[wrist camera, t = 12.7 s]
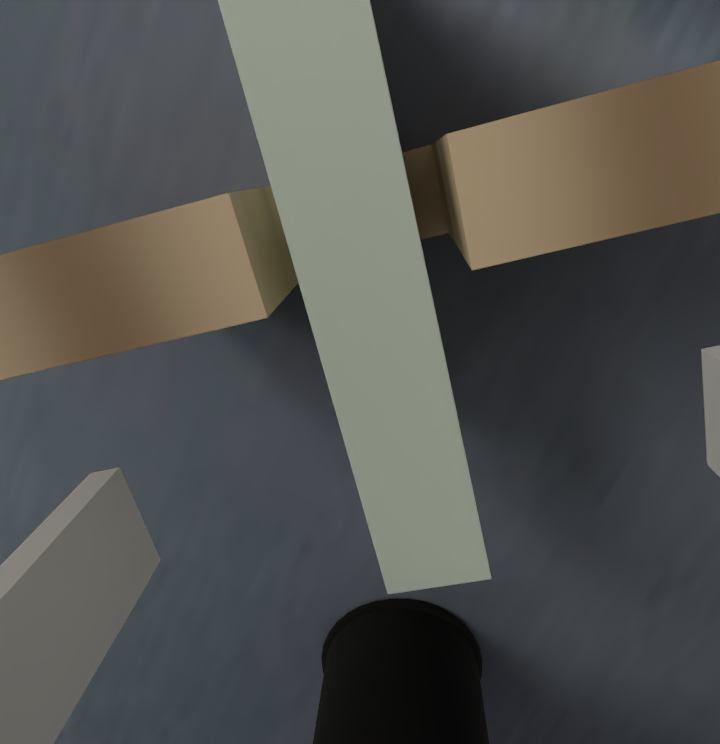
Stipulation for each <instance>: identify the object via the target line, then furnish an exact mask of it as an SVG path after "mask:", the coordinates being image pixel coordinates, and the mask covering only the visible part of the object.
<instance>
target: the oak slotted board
mask: <svg viewBox="0 0 720 744" xmlns="http://www.w3.org/2000/svg"><path fill="white" fill-rule="evenodd" d="M402 155H403V159H404V164H405V169H406V174H407V178H408V183H409V188H410V192H411V197H412V202H413V207H414V211H415V216H416V221H417V226H418V230H419V235H420V240H422V239H426V238H430V237H434V236H438V235H442V234H447V233H449V234H450V236H451V237H452V239H453V241H454V242H455V244H456V246H457V247H458V249H459V250H460V252H461V254H462V255H463V257H464V258H465V260H466V262H467V263H468V265H469V267H470V268H471V270H476V269H481V268H485V267H489V266H494V265H498V264H502V263H507V262H511V261H515V260H520V259H524V258H528V257H532V256H537V255H541V254H545V253H550V252H554V251H558V250H563V249H567V248H571V247H576V246H580V245H584V244H589V243H593V242H597V241H601V240H606V239H610V238H614V237H619V236H623V235H627V234H632V233H636V232H640V231H645V230H649V229H653V228H657V227H662V226H666V225H670V224H675V223H679V222H683V221H688V220H692V219H696V218H701V217H705V216H709V215H714V214H718V213H720V60H718V61H715V62H711V63H707V64H703V65H700V66H696V67H692V68H689V69H685V70H681V71H678V72H674V73H670V74H666V75H663V76H659V77H655V78H652V79H648V80H644V81H641V82H637V83H633V84H629V85H626V86H622V87H618V88H615V89H611V90H607V91H603V92H600V93H596V94H592V95H589V96H585V97H581V98H578V99H574V100H570V101H566V102H563V103H559V104H555V105H552V106H548V107H544V108H541V109H537V110H533V111H529V112H526V113H522V114H518V115H515V116H511V117H507V118H504V119H500V120H496V121H492V122H489V123H485V124H481V125H478V126H474V127H470V128H467V129H463V130H459V131H455V132H452V133H448V134H446V135H444V136H443V137H441V138H440V139H439V140H437V141H436V142H434V143H433V144H431V145H427V146H424V147H420V148H416V149H413V150H409V151H405V152H402ZM297 284H298V279H297V276H296V272H295V269H294V265H293V262H292V258H291V255H290V251H289V248H288V244H287V241H286V237H285V234H284V230H283V227H282V223H281V220H280V216H279V213H278V209H277V206H276V202H275V199H274V195H273V192H272V188H271V186H266V187H260V188H254V189H248V190H242V191H236V192H230V193H226V194H222V195H219V196H215V197H211V198H207V199H204V200H200V201H196V202H193V203H189V204H185V205H182V206H178V207H174V208H170V209H167V210H163V211H159V212H156V213H152V214H148V215H145V216H141V217H137V218H133V219H130V220H126V221H122V222H119V223H115V224H111V225H108V226H104V227H100V228H96V229H93V230H89V231H85V232H82V233H78V234H74V235H71V236H67V237H63V238H59V239H56V240H52V241H48V242H45V243H41V244H37V245H34V246H30V247H26V248H22V249H19V250H15V251H11V252H8V253H4V254H0V380H2V379H6V378H11V377H15V376H19V375H24V374H28V373H32V372H37V371H41V370H45V369H50V368H54V367H58V366H62V365H67V364H71V363H75V362H80V361H84V360H88V359H93V358H97V357H101V356H106V355H110V354H114V353H119V352H123V351H127V350H131V349H136V348H140V347H144V346H149V345H153V344H157V343H162V342H166V341H170V340H175V339H179V338H183V337H188V336H192V335H196V334H200V333H205V332H209V331H213V330H218V329H222V328H226V327H231V326H235V325H239V324H244V323H248V322H252V321H256V320H261V319H265V318H268V317H269V316H270V314H271V313H272V312H273V311H274V310H275V309H276V308H277V307H278V305H279V304H280V303H281V302H282V301H283V300H284V299H285V298H286V296H287V295H288V294H289V293H290V292H291V291H292V290H293V289H294V287H295V286H296V285H297Z"/></svg>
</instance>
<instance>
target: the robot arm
mask: <svg viewBox="0 0 720 744" xmlns="http://www.w3.org/2000/svg"><path fill="white" fill-rule="evenodd" d="M701 356H702V375H703V394H704V413H705V432H706V451H707V465H708V466H709V467H710V468H711V469H712V470H713V471H714V472H715V473H716V474H717V475H718V476H719V477H720V345H718V346H714V347H709V348H704V349H701ZM160 562H161V559H160V557H159V555H158V553H157V550H156V548H155V546H154V544H153V541H152V539H151V537H150V535H149V532H148V530H147V528H146V526H145V523H144V521H143V519H142V517H141V514H140V512H139V510H138V508H137V505H136V503H135V501H134V499H133V496H132V494H131V492H130V490H129V487H128V485H127V483H126V481H125V478H124V476H123V474H122V472H121V469H120V467H118V468H113V469H108V470H103V471H98V472H93V473H90V474H89V475H88V476H87V477H86V478H85V479H84V480H83V481H82V482H81V483H80V484H79V485H78V486H77V487H76V488H75V489H74V490H73V491H72V493H71V494H70V495H69V496H68V497H67V498H66V499H65V500H64V501H63V502H62V503H61V504H60V505H59V506H58V507H57V508H56V509H55V510H54V511H53V512H52V513H51V514H50V515H49V516H48V517H47V518H46V519H45V520H44V521H43V522H42V523H41V524H40V525H39V526H38V527H37V528H36V529H35V531H34V532H33V533H32V534H31V535H30V536H29V537H28V538H27V539H26V540H25V541H24V542H23V543H22V544H21V545H20V546H19V547H18V548H17V549H16V550H15V551H14V552H13V553H12V554H11V555H10V556H9V557H8V558H7V559H6V560H5V561H4V562H3V563H2V564H1V565H0V744H54V742H55V741H56V739H57V737H58V735H59V734H60V732H61V730H62V729H63V727H64V725H65V724H66V722H67V720H68V718H69V717H70V715H71V713H72V712H73V710H74V708H75V707H76V705H77V703H78V701H79V700H80V698H81V696H82V695H83V693H84V691H85V689H86V688H87V686H88V684H89V683H90V681H91V679H92V678H93V676H94V674H95V672H96V671H97V669H98V667H99V666H100V664H101V662H102V660H103V659H104V657H105V655H106V654H107V652H108V650H109V649H110V647H111V645H112V643H113V642H114V640H115V638H116V637H117V635H118V633H119V631H120V630H121V628H122V626H123V625H124V623H125V621H126V620H127V618H128V616H129V614H130V613H131V611H132V609H133V608H134V606H135V604H136V602H137V601H138V599H139V597H140V596H141V594H142V592H143V591H144V589H145V587H146V585H147V584H148V582H149V580H150V579H151V577H152V575H153V574H154V572H155V570H156V568H157V567H158V565H159V563H160Z"/></svg>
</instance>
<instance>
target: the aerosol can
mask: <svg viewBox="0 0 720 744" xmlns="http://www.w3.org/2000/svg"><path fill="white" fill-rule="evenodd" d="M322 667H323V672H324V678H323V684H322V690H321V697H320V703H319V709H318V716H317V722H316V728H315V734H314V741H313V744H489V741H488V734H487V727H486V720H485V713H484V706H483V699H482V692H481V685H480V678H481V675H482V657H481V652H480V648H479V646H478V644H477V642H476V640H475V638H474V636H473V634H472V633H471V632H470V631H469V630H468V628H467V627H466V626H465V625H464V624H463V623H462V622H461V621H460V620H458V619H457V618H456V617H455V616H453V615H452V614H450V613H448V612H446V611H445V610H443V609H441V608H439V607H436V606H434V605H431V604H428V603H425V602H420V601H414V600H408V599H388V600H381V601H375V602H372V603H369V604H366V605H363V606H360V607H358V608H356V609H354V610H352V611H351V612H349V613H347V614H346V615H345V616H344V617H342V618H341V619H340V620H339V621H338V622H337V623H336V624H335V625H334V627H333V628H332V629H331V631H330V632H329V634H328V636H327V638H326V640H325V643H324V645H323V651H322Z"/></svg>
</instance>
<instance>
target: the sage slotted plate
mask: <svg viewBox="0 0 720 744" xmlns="http://www.w3.org/2000/svg"><path fill="white" fill-rule="evenodd" d="M218 3H219V6H220V10H221V13H222V17H223V20H224V24H225V27H226V31H227V34H228V38H229V41H230V45H231V48H232V52H233V55H234V59H235V62H236V66H237V69H238V73H239V76H240V80H241V83H242V87H243V90H244V94H245V97H246V101H247V104H248V108H249V111H250V115H251V118H252V122H253V125H254V129H255V132H256V136H257V139H258V143H259V146H260V150H261V153H262V157H263V160H264V164H265V167H266V171H267V174H268V178H269V181H270V185H271V188H272V192H273V195H274V199H275V202H276V206H277V209H278V213H279V216H280V220H281V223H282V227H283V230H284V234H285V237H286V241H287V244H288V248H289V251H290V255H291V258H292V262H293V265H294V269H295V272H296V276H297V279H298V283H299V286H300V290H301V293H302V297H303V300H304V303H305V307H306V310H307V314H308V317H309V321H310V324H311V328H312V331H313V335H314V338H315V342H316V345H317V349H318V352H319V356H320V359H321V363H322V366H323V370H324V373H325V377H326V380H327V384H328V387H329V391H330V394H331V398H332V401H333V405H334V408H335V412H336V415H337V419H338V422H339V426H340V429H341V433H342V436H343V440H344V443H345V447H346V450H347V454H348V457H349V461H350V464H351V468H352V471H353V475H354V478H355V482H356V485H357V489H358V492H359V496H360V499H361V503H362V506H363V510H364V513H365V517H366V520H367V524H368V527H369V531H370V534H371V538H372V541H373V545H374V548H375V552H376V555H377V559H378V562H379V566H380V569H381V573H382V576H383V580H384V583H385V587H386V590H387V594H394V593H400V592H407V591H414V590H421V589H427V588H434V587H441V586H448V585H454V584H461V583H468V582H475V581H481V580H488V579H491V574H490V569H489V564H488V559H487V554H486V550H485V545H484V540H483V535H482V530H481V526H480V521H479V516H478V511H477V506H476V502H475V497H474V492H473V487H472V482H471V477H470V473H469V468H468V463H467V458H466V453H465V449H464V444H463V439H462V434H461V429H460V424H459V420H458V415H457V410H456V405H455V400H454V396H453V391H452V386H451V381H450V376H449V372H448V367H447V362H446V357H445V353H444V348H443V343H442V338H441V334H440V329H439V324H438V320H437V315H436V310H435V305H434V301H433V296H432V291H431V286H430V282H429V277H428V272H427V267H426V263H425V258H424V253H423V248H422V244H421V240H420V235H419V230H418V226H417V221H416V216H415V211H414V207H413V202H412V197H411V192H410V188H409V183H408V178H407V174H406V169H405V164H404V159H403V155H402V150H401V145H400V140H399V134H398V130H397V125H396V120H395V115H394V111H393V106H392V101H391V96H390V92H389V87H388V82H387V77H386V73H385V68H384V63H383V58H382V54H381V49H380V44H379V39H378V35H377V30H376V25H375V20H374V16H373V11H372V6H371V1H370V0H218Z"/></svg>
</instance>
